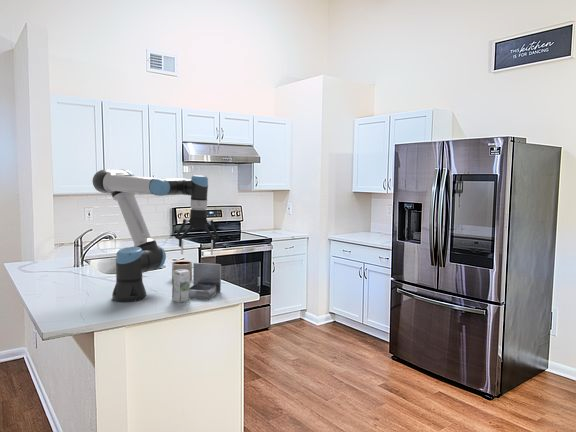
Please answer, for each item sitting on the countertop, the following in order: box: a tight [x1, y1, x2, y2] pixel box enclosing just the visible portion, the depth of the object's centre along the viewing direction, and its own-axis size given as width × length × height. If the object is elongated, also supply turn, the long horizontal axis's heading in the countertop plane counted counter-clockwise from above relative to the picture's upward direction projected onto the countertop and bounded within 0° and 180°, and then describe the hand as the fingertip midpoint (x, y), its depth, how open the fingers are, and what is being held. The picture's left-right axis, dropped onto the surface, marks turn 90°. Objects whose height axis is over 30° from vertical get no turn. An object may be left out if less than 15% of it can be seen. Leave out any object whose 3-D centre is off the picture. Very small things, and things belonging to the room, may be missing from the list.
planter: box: [171, 260, 193, 281], centre depth 254 cm, size 11×11×10 cm
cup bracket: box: [189, 262, 222, 301], centre depth 224 cm, size 14×15×14 cm
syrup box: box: [171, 269, 191, 304], centre depth 212 cm, size 6×6×14 cm
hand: (196, 254), depth 214 cm, fingers open, 13 cm apart
